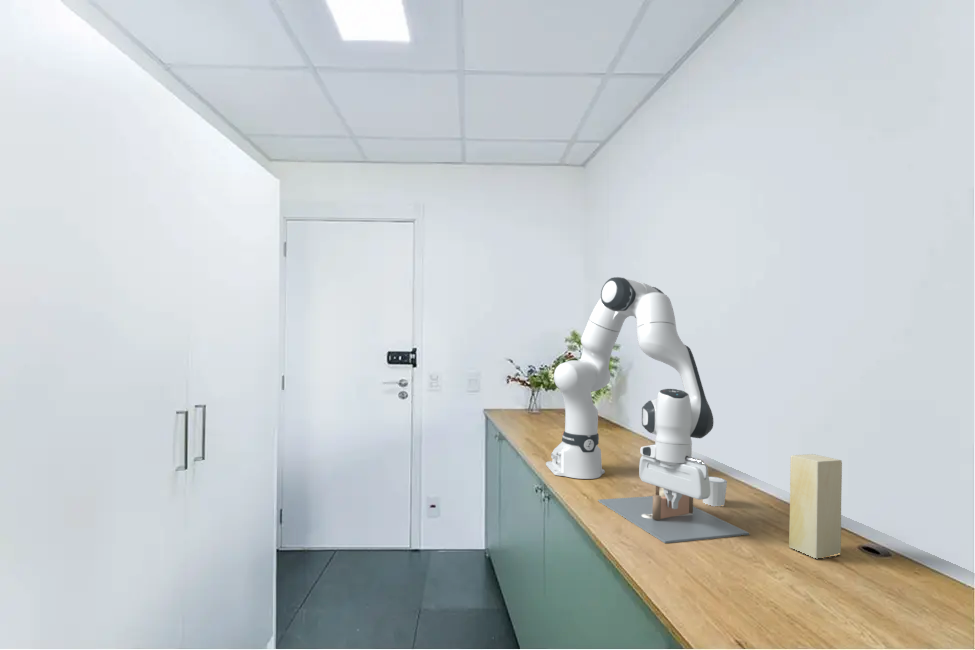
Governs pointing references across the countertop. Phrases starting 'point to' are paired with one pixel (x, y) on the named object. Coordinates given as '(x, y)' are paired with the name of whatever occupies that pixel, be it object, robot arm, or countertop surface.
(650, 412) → the robot arm
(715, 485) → the white cup
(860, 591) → the countertop surface
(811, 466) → the toy refrigerator
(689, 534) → the card
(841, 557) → the countertop surface
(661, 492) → the fixed fence panel
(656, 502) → the hinged fence panel
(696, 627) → the countertop surface
